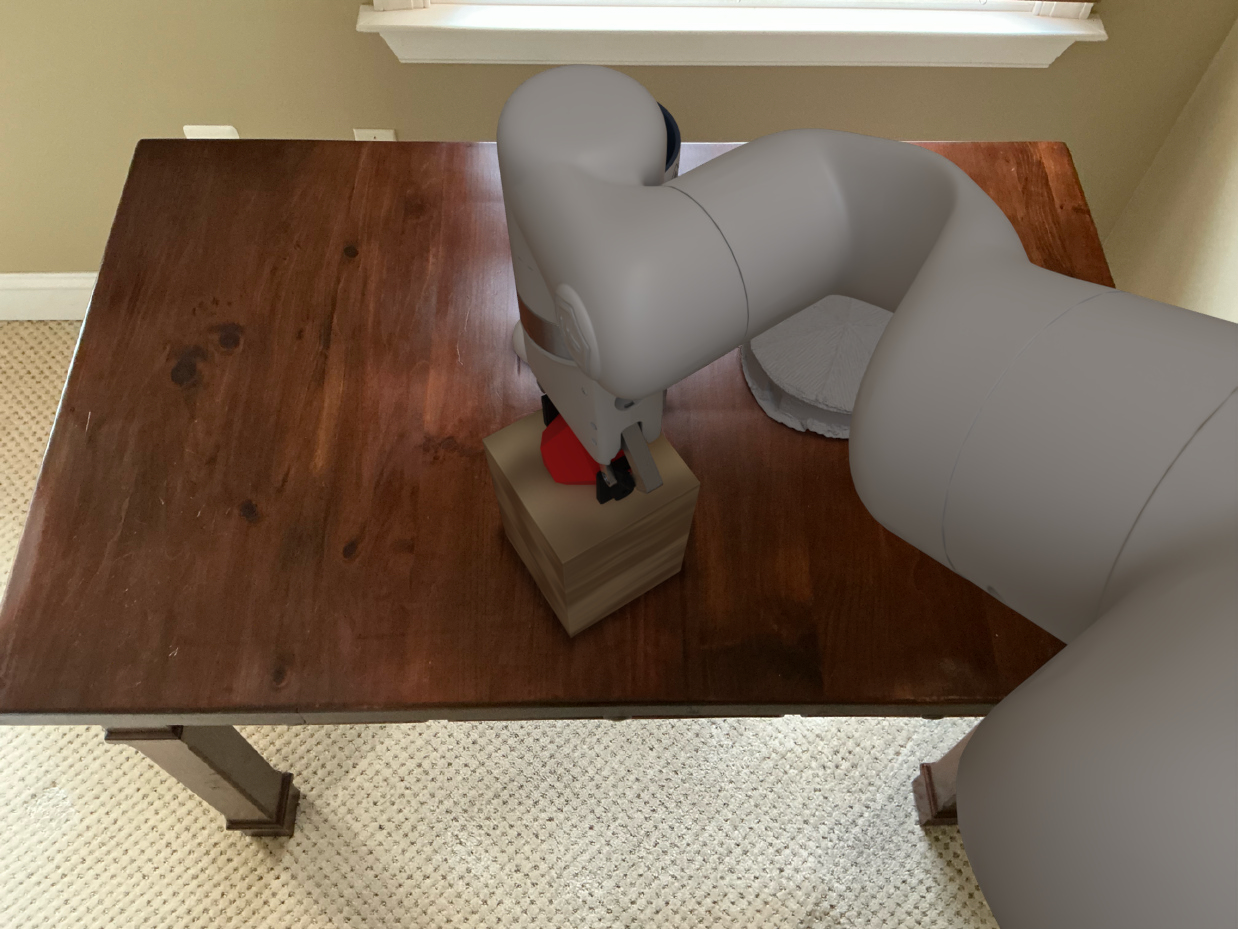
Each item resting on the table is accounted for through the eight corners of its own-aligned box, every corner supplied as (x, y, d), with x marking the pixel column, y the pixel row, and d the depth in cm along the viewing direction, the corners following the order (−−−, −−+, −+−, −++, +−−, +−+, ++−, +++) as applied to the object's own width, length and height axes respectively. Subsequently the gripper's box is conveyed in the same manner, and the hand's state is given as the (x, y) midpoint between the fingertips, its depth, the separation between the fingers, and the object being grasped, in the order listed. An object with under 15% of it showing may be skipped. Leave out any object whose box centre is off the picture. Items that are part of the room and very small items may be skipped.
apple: (526, 476, 55) (635, 431, 54) (516, 404, 60) (617, 360, 58) (569, 525, 61) (670, 485, 59) (557, 456, 65) (650, 417, 63)
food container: (697, 357, 89) (704, 317, 83) (819, 263, 96) (833, 220, 90) (839, 480, 82) (858, 446, 76) (960, 370, 89) (986, 330, 83)
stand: (680, 571, 77) (701, 483, 61) (570, 638, 74) (562, 564, 58) (611, 474, 82) (614, 370, 66) (505, 534, 79) (481, 439, 63)
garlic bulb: (573, 325, 91) (571, 276, 84) (570, 372, 88) (567, 325, 81) (516, 323, 91) (509, 274, 84) (511, 370, 88) (503, 323, 81)
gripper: (734, 377, 43) (698, 520, 59) (563, 175, 50) (572, 351, 66) (613, 443, 41) (609, 573, 57) (452, 223, 48) (489, 393, 64)
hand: (589, 453), depth 61 cm, fingers closed on apple, 6 cm apart
